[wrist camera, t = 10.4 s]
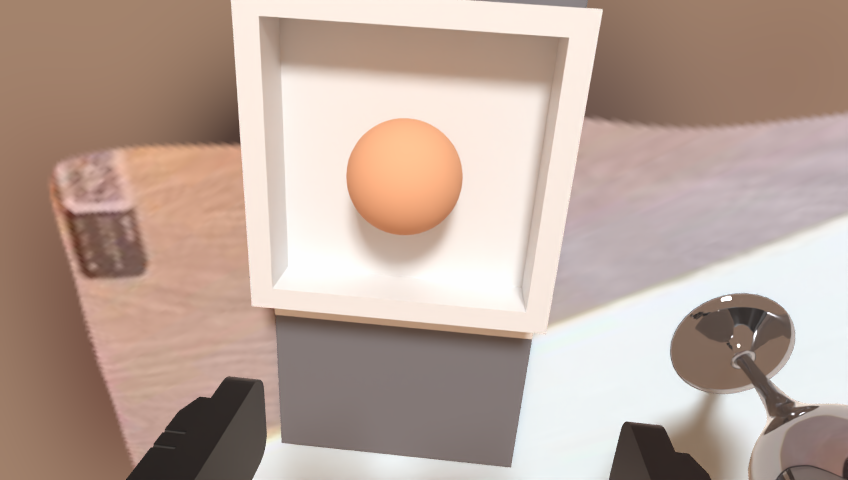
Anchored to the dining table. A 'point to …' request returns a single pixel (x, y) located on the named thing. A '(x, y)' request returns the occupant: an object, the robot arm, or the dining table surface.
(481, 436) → the mat
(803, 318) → the dining table surface
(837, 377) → the dining table surface
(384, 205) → the ball
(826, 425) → the wine glass
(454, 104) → the tray
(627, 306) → the dining table surface
